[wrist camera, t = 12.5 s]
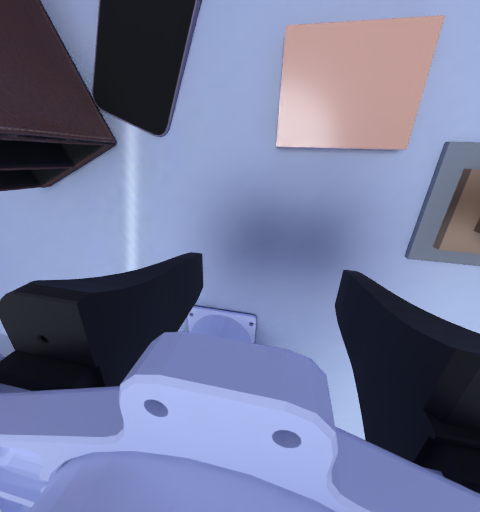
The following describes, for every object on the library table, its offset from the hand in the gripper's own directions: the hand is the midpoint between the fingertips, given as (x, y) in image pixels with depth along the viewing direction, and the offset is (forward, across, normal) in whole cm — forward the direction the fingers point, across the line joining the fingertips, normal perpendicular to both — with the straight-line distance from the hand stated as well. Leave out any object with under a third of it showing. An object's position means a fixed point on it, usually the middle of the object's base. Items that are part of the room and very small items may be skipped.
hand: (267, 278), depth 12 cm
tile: (+10, -4, -6) cm, 12 cm away
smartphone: (+11, +11, -15) cm, 22 cm away
